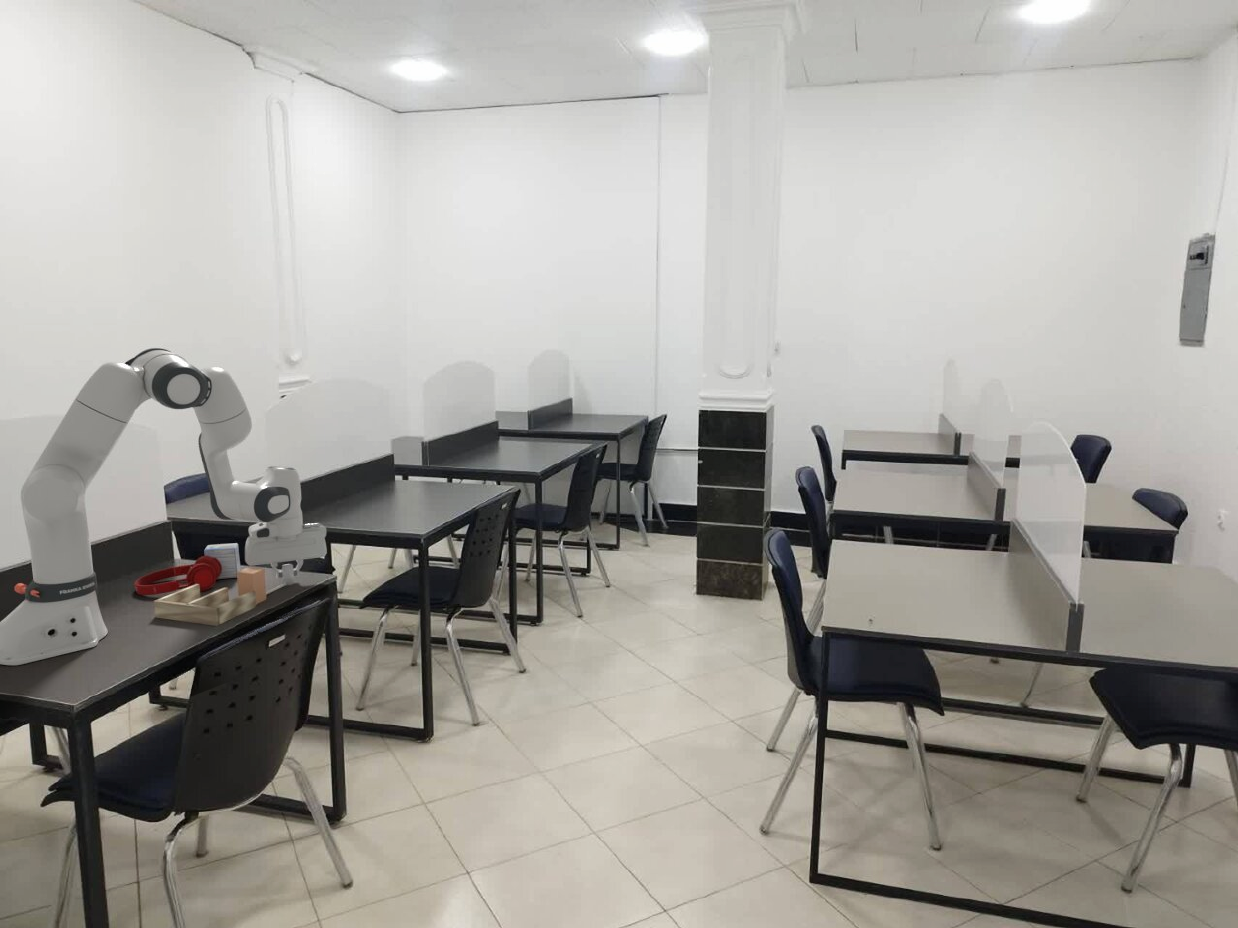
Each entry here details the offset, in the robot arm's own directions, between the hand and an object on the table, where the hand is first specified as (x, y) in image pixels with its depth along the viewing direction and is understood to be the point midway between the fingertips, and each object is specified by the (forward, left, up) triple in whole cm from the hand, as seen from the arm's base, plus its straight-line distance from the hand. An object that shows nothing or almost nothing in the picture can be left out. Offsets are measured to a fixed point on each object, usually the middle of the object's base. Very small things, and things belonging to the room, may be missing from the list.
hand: (287, 576), depth 231 cm
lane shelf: (-25, -3, -2) cm, 25 cm away
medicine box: (-7, +18, -2) cm, 19 cm away
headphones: (-18, +20, -2) cm, 27 cm away
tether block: (-8, -3, -2) cm, 8 cm away
